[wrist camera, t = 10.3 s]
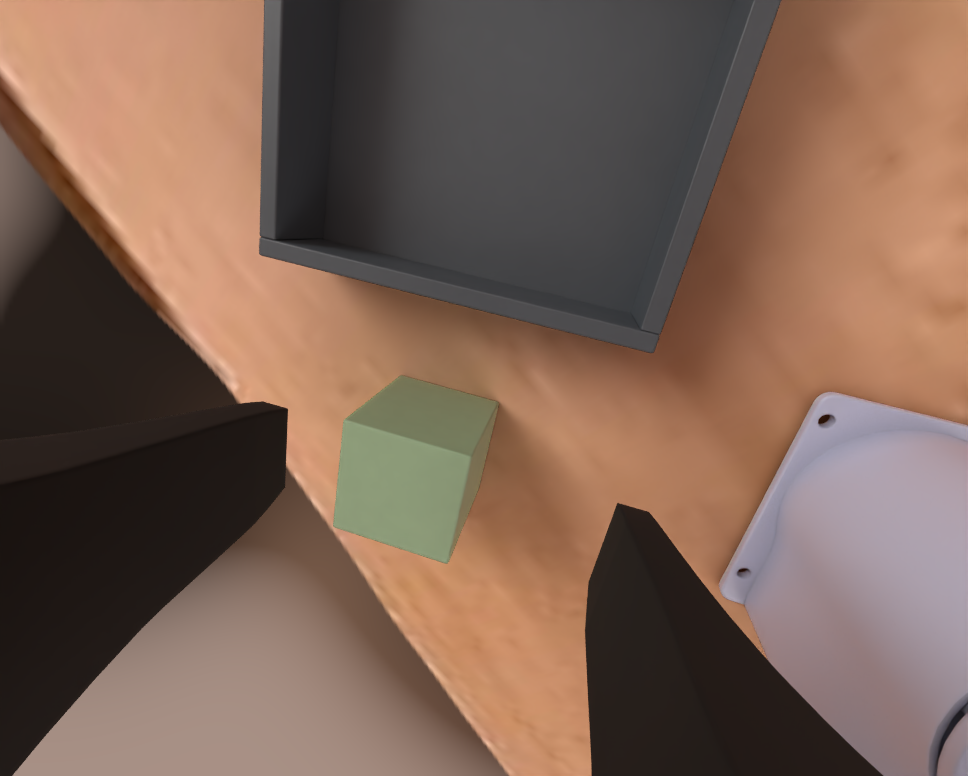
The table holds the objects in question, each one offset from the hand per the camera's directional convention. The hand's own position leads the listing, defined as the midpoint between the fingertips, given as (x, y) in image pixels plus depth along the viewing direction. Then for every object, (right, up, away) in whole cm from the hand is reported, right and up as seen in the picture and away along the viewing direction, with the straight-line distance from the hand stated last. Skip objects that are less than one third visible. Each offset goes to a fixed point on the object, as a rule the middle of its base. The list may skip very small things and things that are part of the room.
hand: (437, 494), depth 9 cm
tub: (+2, +12, +6) cm, 13 cm away
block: (-1, 0, +10) cm, 10 cm away
